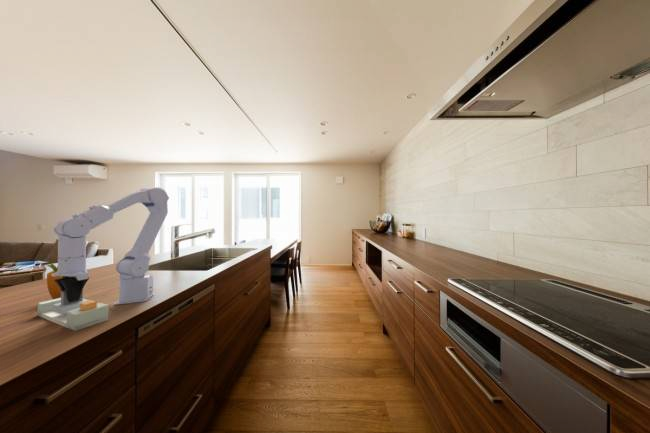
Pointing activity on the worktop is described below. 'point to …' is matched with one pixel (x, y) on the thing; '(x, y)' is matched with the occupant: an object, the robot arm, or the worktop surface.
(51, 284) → the carrot
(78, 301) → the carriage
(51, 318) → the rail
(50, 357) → the worktop surface
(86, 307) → the orange small block
